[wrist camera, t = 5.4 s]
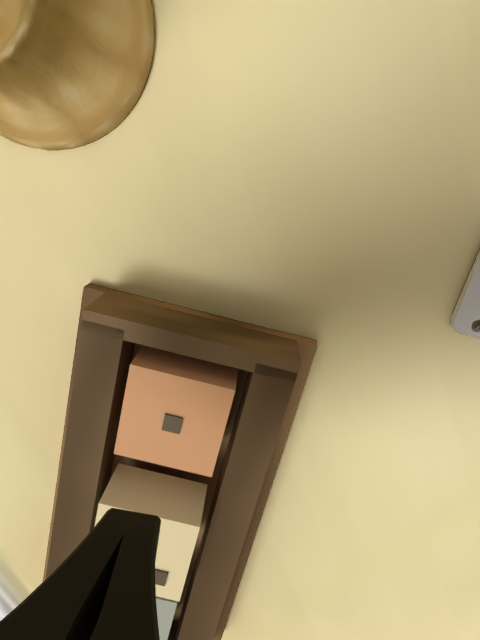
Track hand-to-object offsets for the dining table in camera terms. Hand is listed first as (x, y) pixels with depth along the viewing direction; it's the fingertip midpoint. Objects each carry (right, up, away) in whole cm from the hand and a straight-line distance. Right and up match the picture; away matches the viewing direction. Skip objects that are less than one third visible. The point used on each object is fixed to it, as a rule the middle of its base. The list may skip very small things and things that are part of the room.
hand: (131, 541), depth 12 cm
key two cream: (-1, -3, +9) cm, 9 cm away
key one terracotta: (0, +3, +8) cm, 8 cm away
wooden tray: (-1, -2, +10) cm, 11 cm away
